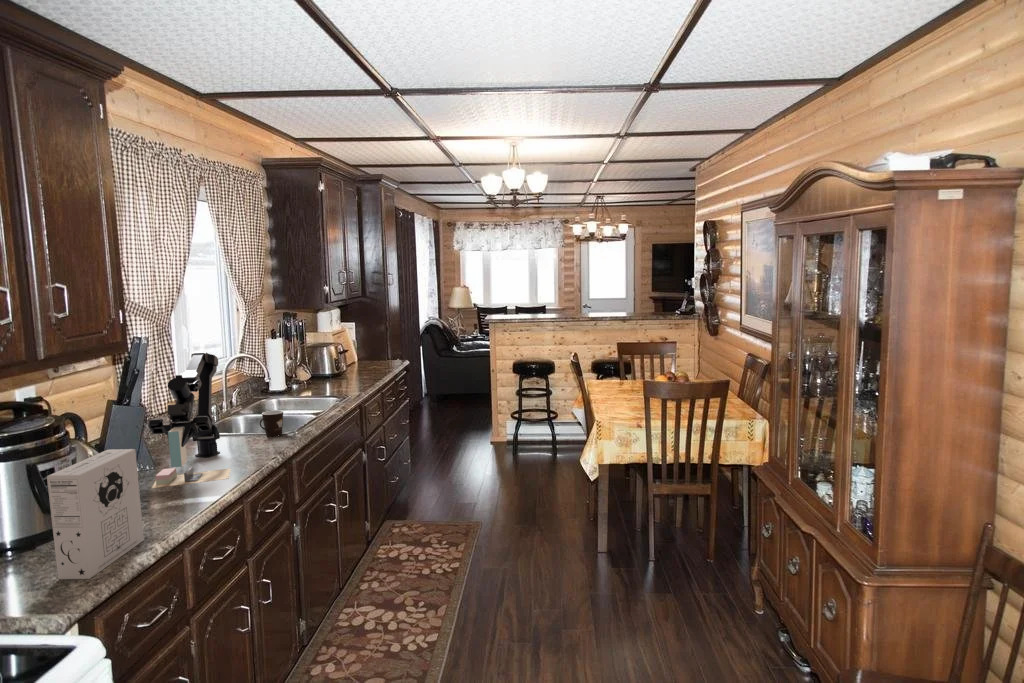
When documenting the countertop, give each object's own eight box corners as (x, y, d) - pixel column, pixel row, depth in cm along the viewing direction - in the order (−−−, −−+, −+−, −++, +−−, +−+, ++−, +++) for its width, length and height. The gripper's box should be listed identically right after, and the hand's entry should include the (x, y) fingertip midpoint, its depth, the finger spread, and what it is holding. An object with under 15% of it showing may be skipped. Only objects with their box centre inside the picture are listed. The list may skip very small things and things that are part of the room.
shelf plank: (151, 491, 211) (151, 488, 211) (158, 480, 222) (157, 477, 222) (228, 482, 218) (228, 478, 218) (231, 471, 230) (230, 468, 230)
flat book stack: (164, 477, 222) (163, 468, 221) (177, 476, 222) (176, 467, 222) (156, 484, 214) (155, 476, 213) (169, 483, 215) (168, 475, 214)
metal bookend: (191, 475, 223) (190, 467, 222) (202, 474, 223) (202, 466, 223) (184, 482, 216) (184, 473, 216) (197, 481, 217) (196, 472, 216)
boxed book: (177, 461, 221) (174, 427, 219) (187, 461, 222) (184, 426, 220) (171, 467, 215) (167, 432, 213) (181, 466, 215) (178, 431, 214)
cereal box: (116, 540, 173) (107, 449, 170) (144, 540, 173) (135, 448, 170) (57, 580, 151) (45, 475, 148) (89, 579, 151) (78, 475, 148)
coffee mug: (279, 431, 285) (277, 409, 284) (288, 434, 279) (286, 412, 278) (253, 437, 277) (251, 414, 276) (261, 440, 271) (260, 417, 270)
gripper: (147, 395, 218) (137, 436, 208) (206, 392, 221) (200, 432, 212) (157, 413, 226) (149, 453, 217) (214, 410, 230) (208, 449, 220)
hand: (176, 446), depth 216 cm, fingers closed on boxed book, 3 cm apart
